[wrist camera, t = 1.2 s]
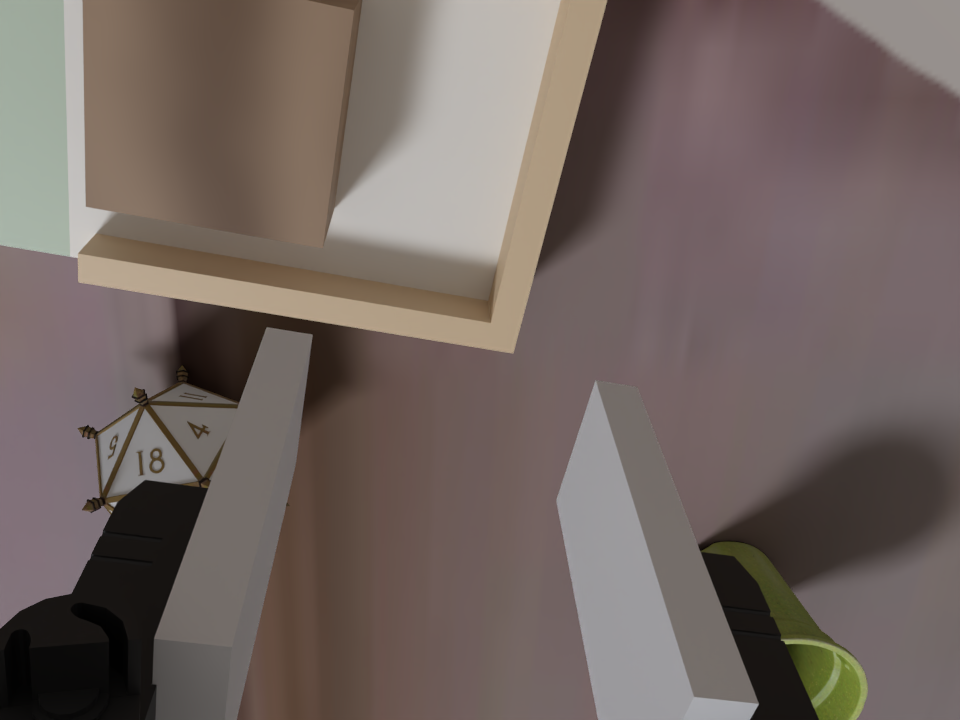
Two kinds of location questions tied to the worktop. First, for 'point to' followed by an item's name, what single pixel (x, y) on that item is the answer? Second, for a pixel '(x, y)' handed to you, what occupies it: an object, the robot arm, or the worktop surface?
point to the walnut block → (219, 111)
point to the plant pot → (805, 640)
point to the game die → (161, 441)
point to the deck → (362, 177)
